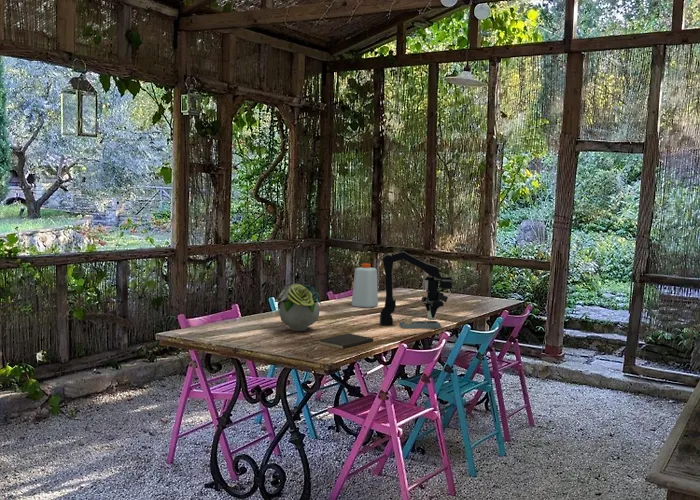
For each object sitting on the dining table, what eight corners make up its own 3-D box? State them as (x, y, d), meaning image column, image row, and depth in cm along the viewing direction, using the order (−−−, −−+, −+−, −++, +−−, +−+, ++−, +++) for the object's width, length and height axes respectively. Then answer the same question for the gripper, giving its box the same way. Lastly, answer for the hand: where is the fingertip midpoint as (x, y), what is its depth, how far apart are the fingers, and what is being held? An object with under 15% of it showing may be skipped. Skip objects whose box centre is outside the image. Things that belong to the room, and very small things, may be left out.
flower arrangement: (269, 326, 346) (270, 281, 344) (314, 324, 355) (315, 280, 353) (281, 335, 323) (282, 287, 321) (328, 333, 331) (330, 286, 330)
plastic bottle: (359, 303, 433) (360, 262, 431) (379, 305, 427) (381, 263, 424) (349, 306, 420) (350, 263, 417) (370, 308, 413) (371, 265, 411)
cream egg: (436, 319, 350) (437, 309, 350) (429, 320, 349) (429, 309, 349) (434, 318, 355) (434, 308, 354) (426, 318, 354) (426, 308, 353)
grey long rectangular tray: (403, 330, 345) (403, 324, 344) (399, 327, 352) (399, 321, 352) (440, 329, 350) (440, 323, 349) (435, 327, 357) (435, 320, 357)
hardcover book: (317, 344, 307) (317, 339, 307) (348, 337, 325) (348, 333, 325) (343, 350, 297) (343, 345, 297) (373, 342, 315) (373, 338, 314)
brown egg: (405, 328, 347) (405, 317, 346) (402, 326, 351) (402, 316, 350) (412, 327, 348) (413, 317, 347) (410, 326, 352) (410, 316, 351)
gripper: (453, 291, 344) (451, 319, 345) (440, 286, 362) (439, 313, 363) (433, 291, 341) (432, 320, 342) (421, 286, 359) (420, 314, 360)
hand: (431, 316), depth 352 cm, fingers closed on cream egg, 4 cm apart
